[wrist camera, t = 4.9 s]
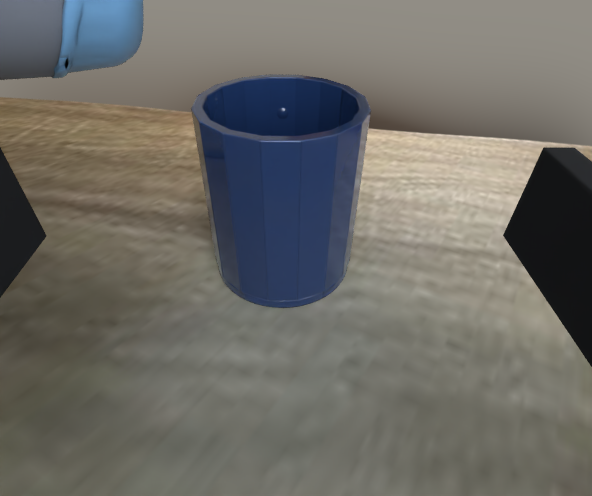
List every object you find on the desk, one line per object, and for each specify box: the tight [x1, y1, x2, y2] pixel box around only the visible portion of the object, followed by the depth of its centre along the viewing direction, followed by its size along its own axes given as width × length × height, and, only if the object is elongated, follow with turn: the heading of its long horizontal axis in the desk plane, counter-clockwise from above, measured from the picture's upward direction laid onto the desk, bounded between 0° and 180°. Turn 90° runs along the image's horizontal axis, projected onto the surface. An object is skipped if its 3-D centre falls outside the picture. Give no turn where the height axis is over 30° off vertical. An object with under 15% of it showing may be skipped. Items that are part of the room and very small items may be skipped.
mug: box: [191, 75, 371, 308], centre depth 23 cm, size 12×8×10 cm
